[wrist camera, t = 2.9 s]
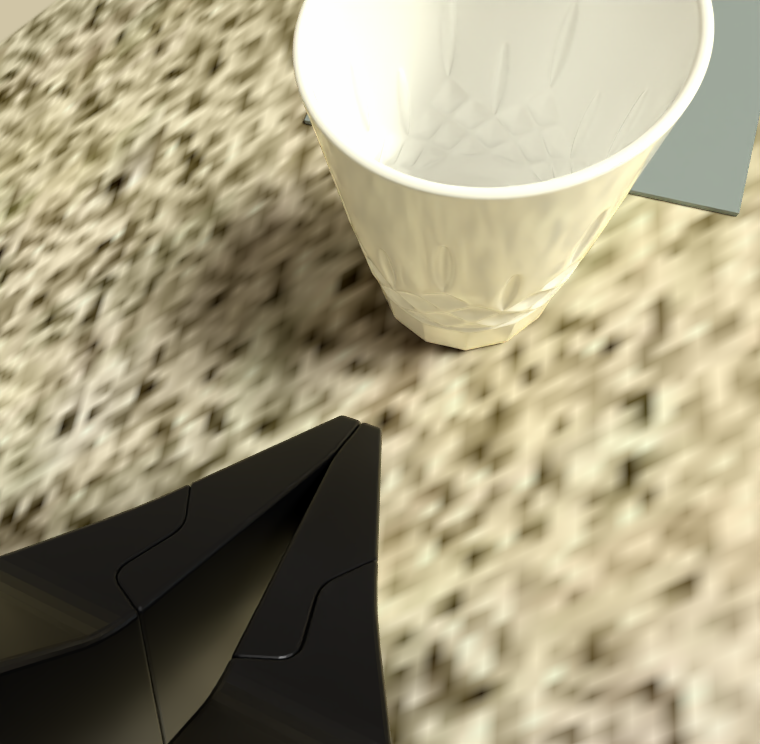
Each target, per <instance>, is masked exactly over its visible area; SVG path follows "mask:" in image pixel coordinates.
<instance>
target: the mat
mask: <svg viewBox="0 0 760 744" xmlns="http://www.w3.org/2000/svg"><path fill="white" fill-rule="evenodd" d="M711 1H712V7H713V13H714V41H713V48H712V53H711V57H710V61H709V65H708V68H707V71H706V73H705V76H704V78H703V81H702V83H701V85H700V87H699V89H698V91H697V93H696V94H695V96H694V98H693V99H692V101H691V103H690V104H689V106H688V107H687V108H686V110H685V111H684V113H683V114H682V116H681V117H680V119H679V120H678V121H677V123H676V124H675V126H674V127H673V129H672V130H671V132H670V133H669V134H668V136H667V137H666V139H665V140H664V142H663V143H662V145H661V146H660V148H659V149H658V150H657V152H656V153H655V155H654V156H653V158H652V159H651V161H650V162H649V163H648V165H647V166H646V168H645V169H644V171H643V172H642V174H641V175H640V177H639V178H638V180H637V181H636V182H635V184H634V185H633V187H632V188H631V190H630V191H629V193H630V194H635V195H639V196H644V197H648V198H653V199H658V200H662V201H667V202H672V203H676V204H681V205H686V206H690V207H695V208H700V209H704V210H709V211H713V212H718V213H723V214H727V215H732V216H737V215H738V214H739V212H740V207H741V202H742V197H743V192H744V187H745V183H746V178H747V173H748V168H749V163H750V159H751V154H752V149H753V144H754V139H755V134H756V130H757V125H758V120H759V115H760V0H711ZM304 121H305V124H310V125H312V124H311V121H310V119H309V116H308V114H307V116H306V118H305V120H304Z"/></svg>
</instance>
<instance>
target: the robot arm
mask: <svg viewBox="0 0 760 744" xmlns="http://www.w3.org/2000/svg"><path fill="white" fill-rule="evenodd" d="M381 446H382V430H381V429H380V428H378V427H376V426H373V425H370V424H367V423H362V424H361V423H360V421H358V420H355V419H352V418H350V417H347V416H338V417H336V418H334V419H332V420H330V421H327V422H325V423H323V424H321V425H319V426H316V427H314V428H312V429H310V430H308V431H305V432H303V433H301V434H299V435H297V436H294V437H292V438H290V439H288V440H286V441H283V442H281V443H279V444H277V445H274V446H272V447H270V448H268V449H266V450H263V451H261V452H259V453H257V454H255V455H252V456H250V457H248V458H246V459H244V460H241V461H239V462H237V463H235V464H233V465H230V466H228V467H226V468H224V469H222V470H219V471H217V472H215V473H213V474H210V475H208V476H206V477H204V478H202V479H199V480H197V481H195V482H193V483H192V484H191V487H190V486H189V485H186V486H184V487H181V488H179V489H177V490H175V491H173V492H170V493H168V494H166V495H164V496H161V497H159V498H156V499H154V500H152V501H149V502H147V503H145V504H142V505H140V506H138V507H135V508H132V509H130V510H127V511H125V512H122V513H119V514H117V515H114V516H111V517H109V518H106V519H103V520H101V521H98V522H95V523H92V524H90V525H87V526H84V527H81V528H78V529H76V530H73V531H70V532H67V533H64V534H62V535H59V536H56V537H53V538H50V539H48V540H45V541H42V542H39V543H36V544H33V545H31V546H28V547H25V548H22V549H19V550H17V551H14V552H11V553H8V554H4V555H1V556H0V744H392V741H391V734H390V725H389V717H388V708H387V700H386V691H385V683H384V674H383V665H382V657H381V648H380V637H379V625H378V607H377V578H378V563H377V561H378V540H379V508H380V477H381Z"/></svg>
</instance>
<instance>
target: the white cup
mask: <svg viewBox="0 0 760 744" xmlns="http://www.w3.org/2000/svg"><path fill="white" fill-rule="evenodd" d="M713 41H714V13H713V7H712V1H711V0H304V2H303V5H302V7H301V10H300V13H299V16H298V19H297V23H296V27H295V32H294V39H293V67H294V74H295V79H296V83H297V87H298V90H299V93H300V96H301V99H302V101H303V104H304V106H305V109H306V111H307V114H308V116H309V119H310V121H311V124H312V126H313V129H314V131H315V134H316V137H317V139H318V142H319V144H320V147H321V149H322V152H323V154H324V157H325V159H326V162H327V165H328V167H329V170H330V172H331V175H332V178H333V180H334V183H335V185H336V188H337V191H338V193H339V196H340V198H341V201H342V204H343V206H344V209H345V212H346V214H347V217H348V220H349V222H350V224H351V226H352V228H353V230H354V232H355V234H356V236H357V239H358V242H359V244H360V247H361V249H362V252H363V254H364V256H365V257H366V260H367V263H368V265H369V267H370V270H371V272H372V274H373V275H374V277H375V278H376V279H377V280H378V283H379V285H380V287H381V289H382V292H383V294H384V296H385V298H386V300H387V302H388V304H389V306H390V308H391V311H392V313H393V315H394V317H395V318H396V319H397V320H398V321H399V322H401V323H402V324H403V325H405V326H406V327H407V328H409V329H410V330H411V331H413V332H414V333H415V334H416V335H418V336H419V337H420V338H422V339H423V340H424V341H426V342H430V343H434V344H439V345H444V346H448V347H453V348H457V349H462V350H470V349H474V348H479V347H484V346H489V345H494V344H498V343H503V342H507V341H508V340H509V339H511V338H512V337H513V336H515V335H516V334H517V333H519V332H520V331H521V330H523V329H524V328H526V327H527V326H528V325H530V324H531V323H532V322H534V321H535V320H536V319H538V318H539V316H540V315H541V314H542V312H543V310H544V309H545V307H546V306H547V304H548V302H549V301H550V299H551V298H552V296H553V295H554V294H555V293H556V292H557V291H558V290H559V289H560V288H561V287H562V286H563V284H564V283H565V282H566V281H567V280H568V278H569V277H570V276H571V274H572V273H573V272H574V270H575V269H576V267H577V266H578V264H579V263H580V261H581V260H582V259H583V258H584V256H585V255H586V254H587V253H588V251H589V250H590V249H591V247H592V246H593V244H594V243H595V242H596V240H597V239H598V237H599V236H600V234H601V233H602V231H603V230H604V228H605V227H606V225H607V224H608V222H609V221H610V219H611V218H612V216H613V215H614V213H615V212H616V210H617V209H618V208H619V206H620V205H621V203H622V202H623V200H624V199H625V197H626V196H627V194H628V193H629V191H630V190H631V188H632V187H633V185H634V184H635V182H636V181H637V180H638V178H639V177H640V175H641V174H642V172H643V171H644V169H645V168H646V166H647V165H648V163H649V162H650V161H651V159H652V158H653V156H654V155H655V153H656V152H657V150H658V149H659V148H660V146H661V145H662V143H663V142H664V140H665V139H666V137H667V136H668V134H669V133H670V132H671V130H672V129H673V127H674V126H675V124H676V123H677V121H678V120H679V119H680V117H681V116H682V114H683V113H684V111H685V110H686V108H687V107H688V106H689V104H690V103H691V101H692V99H693V98H694V96H695V94H696V93H697V91H698V89H699V87H700V85H701V83H702V81H703V78H704V76H705V73H706V71H707V68H708V65H709V61H710V57H711V53H712V48H713Z"/></svg>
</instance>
